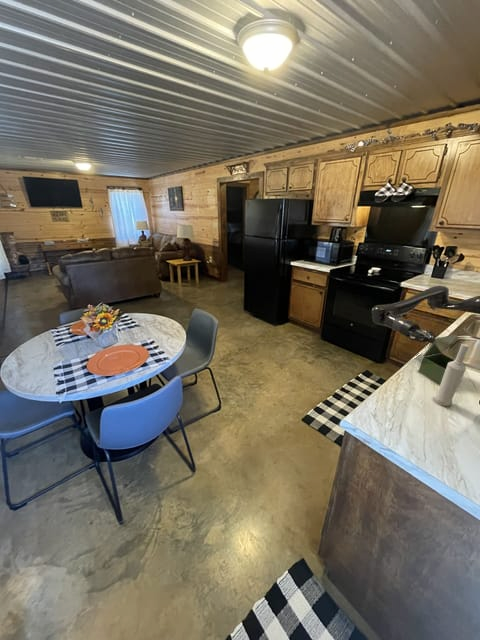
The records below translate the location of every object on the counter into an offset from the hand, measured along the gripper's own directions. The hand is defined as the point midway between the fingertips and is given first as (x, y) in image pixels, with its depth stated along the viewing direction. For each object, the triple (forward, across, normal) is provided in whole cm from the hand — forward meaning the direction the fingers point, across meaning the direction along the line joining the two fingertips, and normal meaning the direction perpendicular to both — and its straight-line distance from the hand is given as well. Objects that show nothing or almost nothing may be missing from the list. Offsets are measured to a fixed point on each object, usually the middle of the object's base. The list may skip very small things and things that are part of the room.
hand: (439, 343), depth 113 cm
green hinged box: (+4, 0, -14) cm, 15 cm away
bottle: (+17, +14, -14) cm, 26 cm away
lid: (+1, 0, -1) cm, 1 cm away
